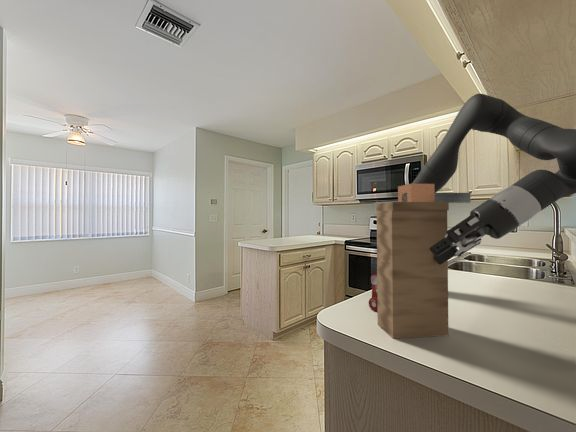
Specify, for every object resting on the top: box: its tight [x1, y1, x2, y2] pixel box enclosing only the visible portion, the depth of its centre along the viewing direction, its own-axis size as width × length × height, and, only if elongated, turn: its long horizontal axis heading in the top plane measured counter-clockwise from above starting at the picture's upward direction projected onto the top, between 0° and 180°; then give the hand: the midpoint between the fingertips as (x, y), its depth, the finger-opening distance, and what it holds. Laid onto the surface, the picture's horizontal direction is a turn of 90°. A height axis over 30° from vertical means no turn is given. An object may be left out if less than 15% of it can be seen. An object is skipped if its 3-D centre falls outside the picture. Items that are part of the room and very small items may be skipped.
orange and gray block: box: [397, 183, 471, 204], centre depth 66 cm, size 6×17×4 cm, turn 96°
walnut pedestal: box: [375, 201, 450, 340], centre depth 66 cm, size 9×14×32 cm, turn 96°
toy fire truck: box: [368, 274, 378, 312], centre depth 78 cm, size 7×12×10 cm, turn 31°
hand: (434, 257), depth 58 cm, fingers open, 7 cm apart
